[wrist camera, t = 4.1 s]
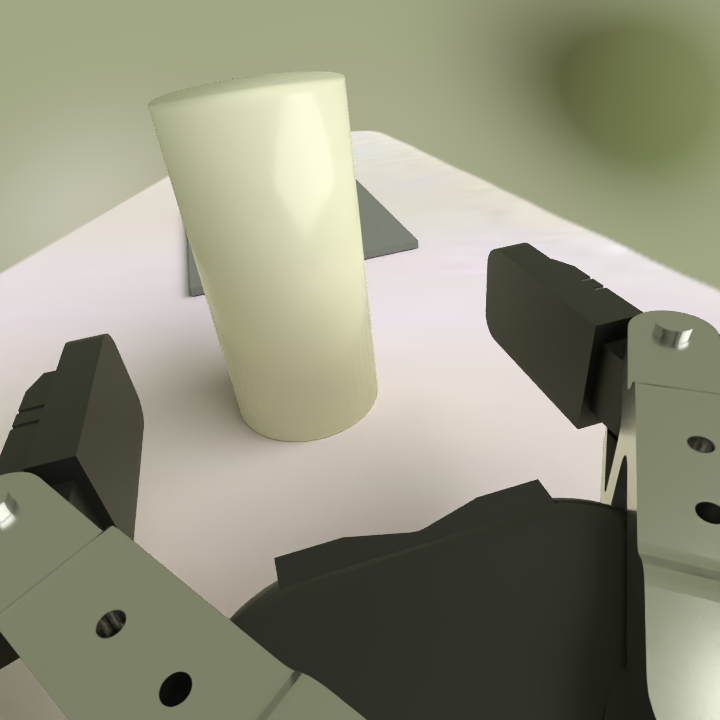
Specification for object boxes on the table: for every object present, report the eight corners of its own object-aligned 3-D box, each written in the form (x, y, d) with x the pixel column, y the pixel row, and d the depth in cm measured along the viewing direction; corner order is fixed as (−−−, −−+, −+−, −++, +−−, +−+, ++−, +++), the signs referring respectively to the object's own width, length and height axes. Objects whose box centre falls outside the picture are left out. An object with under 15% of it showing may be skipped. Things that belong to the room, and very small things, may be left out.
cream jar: (247, 458, 17) (142, 121, 11) (234, 372, 21) (151, 91, 15) (397, 418, 18) (368, 85, 12) (357, 342, 22) (321, 65, 16)
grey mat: (192, 296, 27) (189, 289, 27) (188, 210, 38) (186, 204, 38) (418, 247, 29) (418, 240, 29) (351, 179, 40) (350, 173, 40)
